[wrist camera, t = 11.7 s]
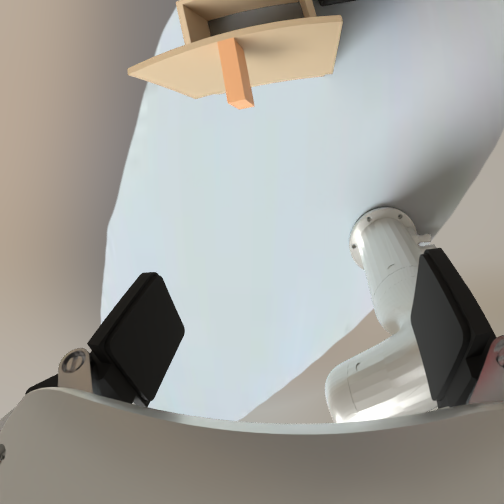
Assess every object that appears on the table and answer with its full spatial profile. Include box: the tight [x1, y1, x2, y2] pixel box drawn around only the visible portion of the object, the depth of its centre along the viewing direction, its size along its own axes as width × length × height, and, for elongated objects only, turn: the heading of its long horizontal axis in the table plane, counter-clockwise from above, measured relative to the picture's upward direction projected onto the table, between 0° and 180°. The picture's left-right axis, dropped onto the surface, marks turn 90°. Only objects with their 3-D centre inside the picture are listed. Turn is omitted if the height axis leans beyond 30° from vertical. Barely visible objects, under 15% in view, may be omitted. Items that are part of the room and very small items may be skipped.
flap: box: [128, 15, 343, 109], centre depth 22 cm, size 16×14×6 cm
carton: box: [176, 0, 324, 94], centre depth 29 cm, size 16×14×10 cm
